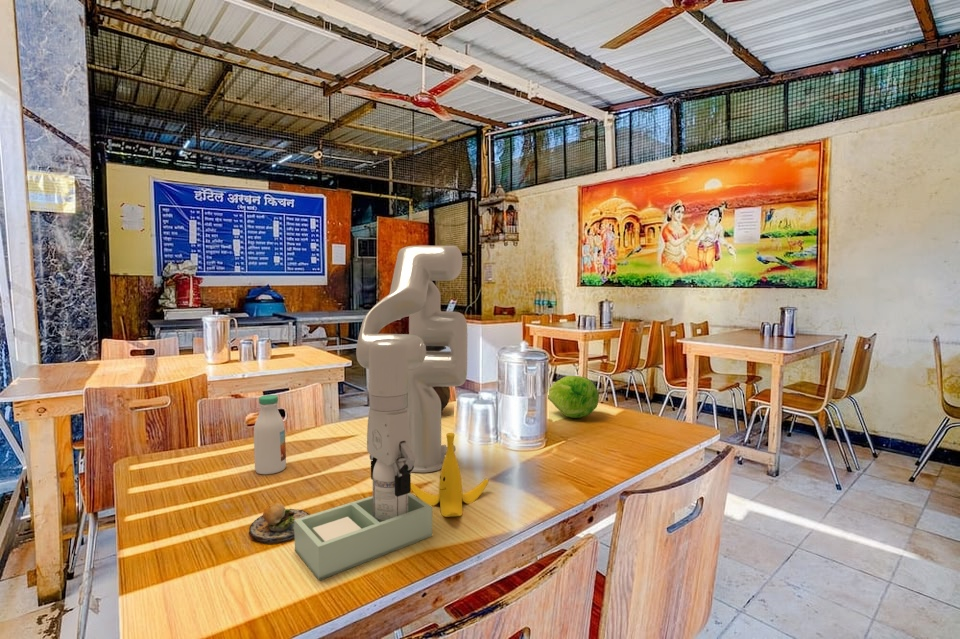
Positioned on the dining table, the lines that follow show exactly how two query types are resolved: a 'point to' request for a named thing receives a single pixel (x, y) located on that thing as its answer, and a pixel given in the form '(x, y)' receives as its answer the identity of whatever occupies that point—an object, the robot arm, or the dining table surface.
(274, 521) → the burger
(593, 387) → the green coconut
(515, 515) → the dining table surface
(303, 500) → the dining table surface
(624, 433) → the dining table surface
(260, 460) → the milk bottle
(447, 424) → the dining table surface
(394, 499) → the bath foam
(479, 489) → the banana peel
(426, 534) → the box
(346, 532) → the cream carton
